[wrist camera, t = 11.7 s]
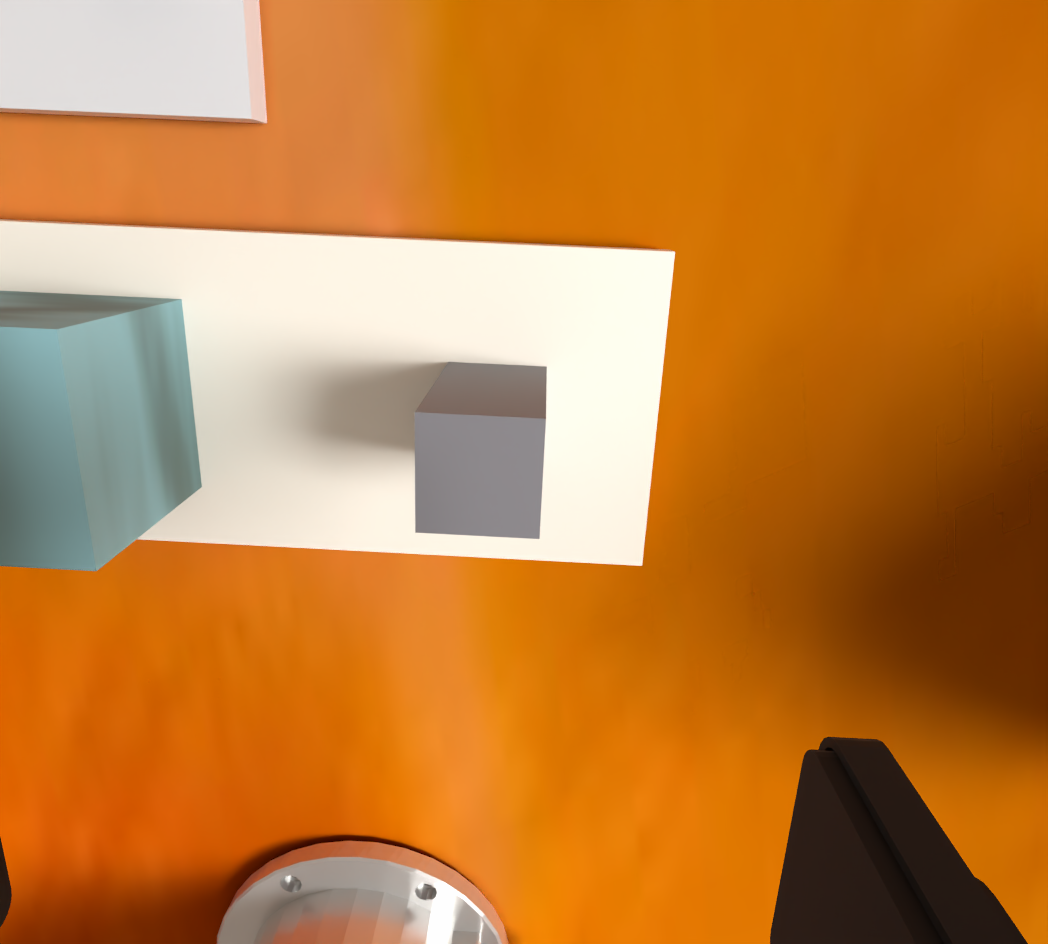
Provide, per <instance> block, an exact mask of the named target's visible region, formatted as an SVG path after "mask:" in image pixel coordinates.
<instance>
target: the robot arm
mask: <svg viewBox="0 0 1048 944" xmlns="http://www.w3.org/2000/svg"><path fill="white" fill-rule="evenodd" d="M11 897H12V894H11V886H10V881H9V876H8V871H7V867H6V862H5V857H4V852H3V848H2V843H1V838H0V927H1V925H2V924H3V922H4V920H5V918H6V916H7V914H8V910H9V907H10V903H11ZM217 944H509V942H508V939H507V935H506V931H505V928H504V925H503V923H502V922H501V920H500V918H499V916H498V914H497V913H496V911H495V909H494V907H493V906H492V905H491V903H490V902H489V901H488V900H487V899H486V898H485V896H484V895H483V894H482V893H481V892H480V891H479V889H478V888H477V887H475V886H474V885H473V884H472V883H470V882H469V881H468V880H467V879H465V878H464V877H463V876H462V875H460V874H459V873H458V872H456V871H455V870H453V869H451V868H449V867H447V866H446V865H444V864H442V863H440V862H438V861H437V860H435V859H433V858H431V857H428V856H425V855H423V854H420V853H417V852H415V851H412V850H409V849H407V848H402V847H398V846H393V845H388V844H383V843H378V842H364V841H339V842H328V843H319V844H315V845H311V846H307V847H303V848H299V849H296V850H292V851H290V852H288V853H286V854H284V855H282V856H279V857H277V858H275V859H273V860H271V861H269V862H268V863H266V864H265V865H264V866H262V867H261V868H260V869H258V870H257V871H255V872H254V873H253V874H251V875H250V877H249V878H248V879H247V880H246V881H245V882H244V883H243V885H242V886H241V887H240V888H239V889H238V890H237V892H236V894H235V896H234V898H233V900H232V902H231V904H230V906H229V908H228V910H227V912H226V914H225V916H224V918H223V921H222V924H221V926H220V929H219V932H218V935H217ZM770 944H1028V943H1027V942H1026V940H1025V939H1024V937H1023V936H1022V934H1021V933H1020V932H1019V930H1018V929H1017V927H1016V926H1015V924H1014V923H1013V921H1012V920H1011V918H1010V917H1009V915H1008V914H1007V913H1006V911H1005V910H1004V908H1003V907H1002V905H1001V904H1000V902H999V901H998V899H997V898H996V897H995V895H994V894H993V893H992V892H991V891H990V890H989V888H988V887H987V886H986V885H985V884H984V883H983V882H982V881H980V880H979V879H977V878H975V877H974V876H973V874H972V873H971V871H970V870H969V868H968V867H967V865H966V864H965V862H964V861H963V859H962V858H961V856H960V855H959V853H958V852H957V850H956V849H955V847H954V846H953V844H952V843H951V841H950V840H949V839H948V837H947V836H946V834H945V833H944V831H943V830H942V828H941V827H940V825H939V824H938V822H937V821H936V819H935V818H934V816H933V815H932V813H931V812H930V810H929V809H928V807H927V806H926V804H925V803H924V801H923V800H922V798H921V797H920V795H919V794H918V792H917V791H916V789H915V788H914V786H913V785H912V783H911V782H910V780H909V779H908V778H907V776H906V775H905V773H904V772H903V770H902V769H901V767H900V766H899V764H898V763H897V761H896V760H895V758H894V757H893V755H892V754H891V752H890V751H889V749H888V748H887V747H886V746H885V745H884V743H883V742H881V741H879V740H877V739H858V738H839V737H827V738H824V739H823V741H822V742H821V744H820V747H819V750H808V751H807V752H806V753H805V755H804V759H803V763H802V768H801V773H800V779H799V784H798V789H797V795H796V800H795V805H794V811H793V816H792V821H791V827H790V832H789V837H788V843H787V848H786V853H785V859H784V864H783V869H782V875H781V880H780V885H779V891H778V896H777V901H776V907H775V912H774V917H773V923H772V928H771V936H770Z"/></svg>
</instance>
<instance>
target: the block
mask: <svg viewBox="0 0 1048 944" xmlns="http://www.w3.org/2000/svg"><path fill="white" fill-rule="evenodd" d="M201 487H202V483H201V474H200V465H199V455H198V446H197V437H196V428H195V418H194V409H193V400H192V390H191V381H190V372H189V363H188V353H187V344H186V335H185V326H184V316H183V307H182V299H168V298H147V297H126V296H105V295H83V294H62V293H41V292H20V291H0V566H11V567H30V568H49V569H68V570H86V571H97V570H98V569H100V568H101V567H102V566H104V565H105V564H106V563H107V562H109V561H110V560H111V559H112V558H114V557H115V556H116V555H117V554H119V553H120V552H121V551H122V550H124V549H125V548H126V547H127V546H129V545H130V544H131V543H132V542H134V541H135V540H136V539H137V538H139V537H140V536H141V535H142V534H144V533H145V532H146V531H147V530H149V529H150V528H151V527H152V526H154V525H155V524H156V523H157V522H159V521H160V520H161V519H162V518H164V517H165V516H166V515H167V514H169V513H170V512H171V511H172V510H174V509H175V508H176V507H177V506H179V505H180V504H181V503H182V502H184V501H185V500H186V499H187V498H189V497H190V496H191V495H192V494H194V493H195V492H196V491H197V490H199V489H200V488H201Z"/></svg>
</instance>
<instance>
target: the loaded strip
mask: <svg viewBox="0 0 1048 944" xmlns="http://www.w3.org/2000/svg"><path fill="white" fill-rule="evenodd" d="M674 257H675V252H674V251H671V250H665V249H643V248H621V247H599V246H578V245H556V244H534V243H512V242H490V241H468V240H446V239H424V238H403V237H381V236H359V235H337V234H315V233H293V232H271V231H249V230H228V229H206V228H184V227H162V226H140V225H118V224H96V223H74V222H53V221H31V220H9V219H0V291H20V292H41V293H62V294H83V295H105V296H126V297H147V298H168V299H182V307H183V316H184V326H185V335H186V344H187V353H188V363H189V372H190V381H191V390H192V400H193V409H194V418H195V428H196V437H197V446H198V455H199V465H200V474H201V483H202V487H201V488H200V489H199V490H197V491H196V492H195V493H194V494H192V495H191V496H190V497H189V498H187V499H186V500H185V501H184V502H182V503H181V504H180V505H179V506H177V507H176V508H175V509H174V510H172V511H171V512H170V513H169V514H167V515H166V516H165V517H164V518H162V519H161V520H160V521H159V522H157V523H156V524H155V525H154V526H152V527H151V528H150V529H149V530H147V531H146V532H145V533H144V534H142V535H141V536H140V537H139V538H137V539H142V540H161V541H181V542H200V543H219V544H238V545H257V546H276V547H295V548H314V549H333V550H352V551H371V552H390V553H409V554H429V555H448V556H467V557H486V558H505V559H524V560H543V561H562V562H581V563H600V564H619V565H638V566H642V561H643V551H644V542H645V532H646V523H647V513H648V504H649V494H650V485H651V475H652V466H653V456H654V447H655V437H656V428H657V418H658V409H659V399H660V390H661V380H662V371H663V361H664V352H665V342H666V333H667V323H668V314H669V304H670V295H671V285H672V276H673V266H674Z"/></svg>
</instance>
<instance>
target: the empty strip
mask: <svg viewBox="0 0 1048 944" xmlns="http://www.w3.org/2000/svg"><path fill="white" fill-rule="evenodd" d="M0 112H13V113H36V114H59V115H82V116H105V117H128V118H151V119H174V120H197V121H220V122H243V123H266V124H267V114H266V99H265V84H264V69H263V53H262V38H261V23H260V8H259V0H0Z"/></svg>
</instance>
